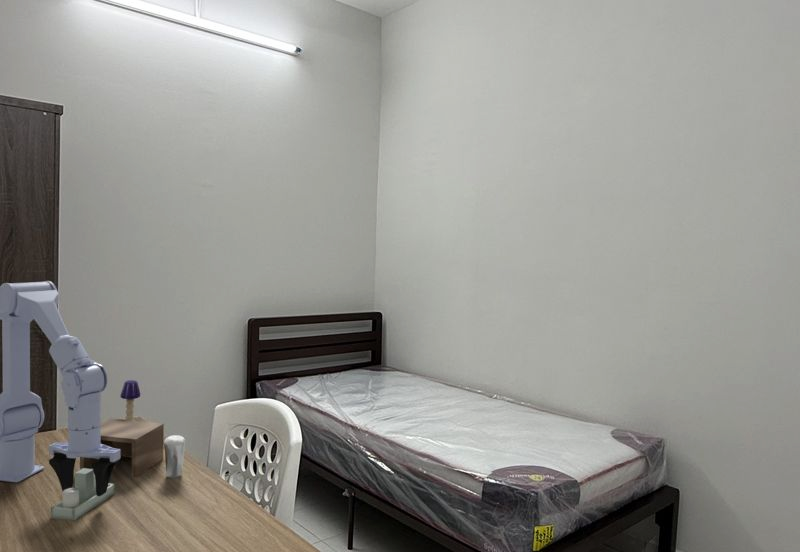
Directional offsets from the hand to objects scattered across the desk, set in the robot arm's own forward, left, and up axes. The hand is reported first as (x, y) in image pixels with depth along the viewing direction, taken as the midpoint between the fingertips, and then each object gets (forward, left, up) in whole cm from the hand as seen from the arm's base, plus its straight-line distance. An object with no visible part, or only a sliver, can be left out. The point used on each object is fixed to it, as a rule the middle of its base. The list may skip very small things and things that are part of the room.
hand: (84, 491), depth 117 cm
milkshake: (+10, +17, -3) cm, 20 cm away
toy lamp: (-11, +31, -3) cm, 33 cm away
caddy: (0, 0, -3) cm, 3 cm away
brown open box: (-5, +20, -3) cm, 20 cm away
